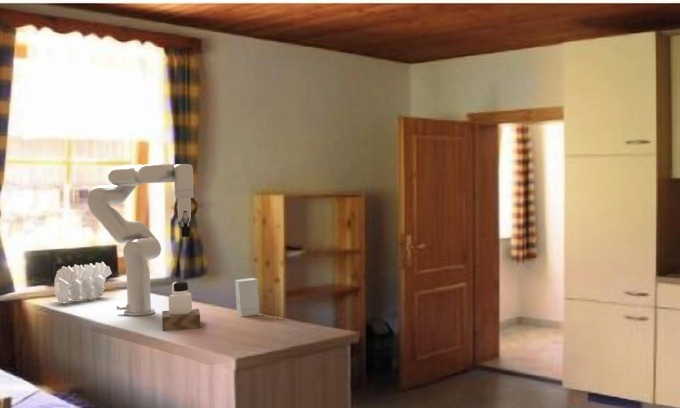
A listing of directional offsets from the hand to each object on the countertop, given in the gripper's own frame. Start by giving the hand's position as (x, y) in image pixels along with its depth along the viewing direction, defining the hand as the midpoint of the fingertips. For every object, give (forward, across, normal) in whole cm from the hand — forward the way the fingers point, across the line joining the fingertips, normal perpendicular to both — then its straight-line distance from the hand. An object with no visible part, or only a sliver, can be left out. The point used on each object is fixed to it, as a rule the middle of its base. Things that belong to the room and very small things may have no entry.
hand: (185, 235), depth 300 cm
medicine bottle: (+28, +19, -3) cm, 34 cm away
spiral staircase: (+34, -62, -49) cm, 86 cm away
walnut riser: (+33, +19, -3) cm, 38 cm away
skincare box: (+34, +5, +24) cm, 42 cm away
